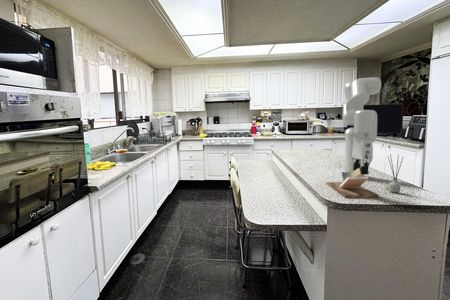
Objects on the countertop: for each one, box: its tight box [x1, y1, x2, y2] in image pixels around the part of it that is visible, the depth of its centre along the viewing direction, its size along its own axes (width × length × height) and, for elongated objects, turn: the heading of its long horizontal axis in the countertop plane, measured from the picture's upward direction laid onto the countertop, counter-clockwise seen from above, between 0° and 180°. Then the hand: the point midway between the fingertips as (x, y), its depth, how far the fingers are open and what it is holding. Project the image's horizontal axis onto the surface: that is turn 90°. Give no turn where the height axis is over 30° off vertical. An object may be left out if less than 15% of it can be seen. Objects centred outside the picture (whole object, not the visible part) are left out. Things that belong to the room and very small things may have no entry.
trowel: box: [341, 168, 367, 182], centre depth 118 cm, size 8×6×13 cm
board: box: [324, 181, 380, 199], centre depth 125 cm, size 16×24×2 cm, turn 179°
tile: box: [340, 176, 369, 188], centre depth 121 cm, size 10×11×1 cm
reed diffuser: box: [385, 153, 404, 193], centre depth 120 cm, size 10×7×20 cm
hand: (360, 172), depth 115 cm, fingers closed on trowel, 5 cm apart
